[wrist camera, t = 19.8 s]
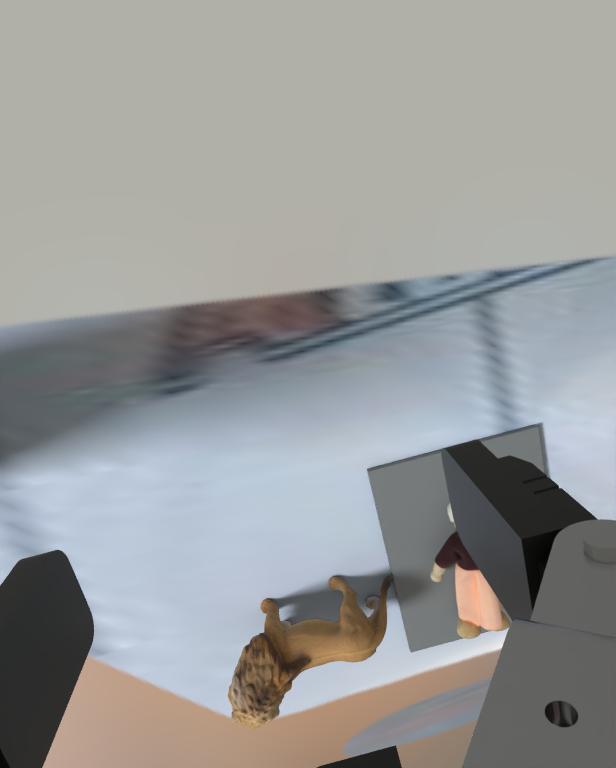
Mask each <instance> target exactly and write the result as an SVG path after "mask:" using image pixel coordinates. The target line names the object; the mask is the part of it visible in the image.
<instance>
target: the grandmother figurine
mask: <svg viewBox="0 0 616 768" xmlns="http://www.w3.org/2000/svg"><path fill="white" fill-rule="evenodd" d="M447 511H448V515H449V519H450V521H451V522H453V523H454V519H453V515H452V510H451V505H450V503H449V505H448V507H447ZM454 526H455V523H454ZM455 528H456V526H455ZM455 563H456V567H455V587H456V601H457V607H458V615H459V618H458V624H457V633H458V634H459V636H461V637H462V638H466V639H471V638H476V637H477V636H479V635H480V633H481V627H483V628H484V629H486V630H493V631H502V630H505V629H507V628H508V627H509V626H510V619H509V618H508V616H507V615H506V614H505V613H504V612H503V611H502V609H503V606H502V604H501V603H500V601H499V600H498V598H497V596H496V595H495V593H494V592H493V590H492V589H491V587H490V586H489V584H488V582H487V581H486V579H485V578H484V576H483V575H482V573H481V572H480V570H479V569H478V567H477V565H476V564H475V562H474V561H473V559H472V558H471V556H470V555H469V553H468V551H467V550H466V548H465V547H464V545H463V543H462V541H461V539H460V537H459V535H458V532H455V533H453V534H452V535H451V536H450V537H449V538H448V539H447V541H446V542H445V544H444V545H443V547H442V548H441V550H440V551H439V553H438V554H437V556H436V557H435V562H434V565H433V570H432V571H431V574H430V577H431V579H432V580H433V581H434V582H440V581H441V580H442V578H443V574H444V573H445V571H446V568H447V567H448V566H450V565H453V564H455ZM480 626H481V627H480Z"/></svg>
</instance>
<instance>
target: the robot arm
mask: <svg viewBox="0 0 616 768" xmlns="http://www.w3.org/2000/svg"><path fill="white" fill-rule="evenodd" d="M441 457H442V463H443V469H444V474H445V479H446V484H447V489H448V494H449V500H450V505H451V510H452V515H453V519H454V523H455V526H456V529H457V532H458V535H459V537H460V539H461V541H462V543H463V545H464V547H465V548H466V550H467V551H468V553H469V555H470V556H471V558H472V559H473V561H474V562H475V564H476V565H477V567H478V569H479V570H480V572H481V573H482V575H483V576H484V578H485V579H486V581H487V582H488V584H489V586H490V587H491V589H492V590H493V592H494V593H495V595H496V596H497V598H498V600H499V601H500V603H501V604H502V606H503V607H504V609H505V610H506V612H507V613H508V615H509V617H510V618H511V620H512V623H511V625H510V627H509V630H508V632H507V635H506V638H505V641H504V644H503V647H502V650H501V653H500V656H499V659H498V662H497V665H496V668H495V671H494V674H493V677H492V680H491V683H490V686H489V689H488V692H487V695H486V698H485V701H484V704H483V706H482V709H481V712H480V715H479V718H478V721H477V724H476V727H475V730H474V733H473V736H472V739H471V742H470V745H469V748H468V751H467V754H466V757H465V760H464V763H463V766H462V768H616V521H615V520H602V519H601V520H598V519H597V518H595V517H594V516H593V515H592V514H591V513H590V512H589V511H587V510H586V509H585V508H584V507H583V506H582V505H580V504H579V503H578V502H577V501H576V500H575V499H573V498H572V497H571V496H570V495H569V494H568V493H566V492H565V491H564V490H563V489H562V488H560V489H559V486H558V485H557V484H556V483H555V482H554V481H552V480H551V479H550V478H547V476H546V475H545V474H544V473H543V472H542V471H541V470H540V469H538V468H537V467H536V466H535V465H534V464H533V463H531V462H528V461H525V460H522V459H519V458H516V457H514V456H511V455H509V456H505V457H501V458H497V457H496V456H495V455H494V454H493V453H492V452H491V451H490V450H489V449H487V448H486V447H485V446H484V445H483V444H482V443H481V442H480V441H479V440H473V441H469V442H465V443H462V444H458V445H454V446H450V447H447V448H443V449H442V451H441ZM93 636H94V624H93V618H92V614H91V611H90V608H89V606H88V604H87V601H86V599H85V597H84V594H83V592H82V590H81V587H80V585H79V583H78V580H77V578H76V576H75V573H74V571H73V569H72V566H71V564H70V562H69V560H68V558H67V556H66V555H65V554H64V552H62V551H60V550H55V551H51V552H47V553H44V554H40V555H36V556H32V557H28V558H25V559H21V560H20V561H18V562H17V564H16V565H15V566H14V568H13V569H12V571H11V572H10V573H9V575H8V576H7V577H6V579H5V580H4V582H3V583H2V584H1V586H0V768H42V767H43V764H44V762H45V760H46V757H47V754H48V752H49V750H50V747H51V744H52V742H53V740H54V737H55V734H56V732H57V730H58V727H59V725H60V722H61V720H62V717H63V715H64V712H65V710H66V707H67V705H68V702H69V700H70V697H71V695H72V692H73V690H74V687H75V685H76V682H77V680H78V677H79V675H80V673H81V670H82V668H83V665H84V663H85V660H86V658H87V655H88V653H89V650H90V648H91V645H92V642H93ZM317 768H402V767H401V764H400V760H399V756H398V752H397V748H396V746H392V747H388V748H385V749H381V750H377V751H374V752H370V753H366V754H363V755H359V756H355V757H352V758H348V759H345V760H341V761H337V762H334V763H330V764H326V765H323V766H319V767H317Z"/></svg>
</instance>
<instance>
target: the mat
mask: <svg viewBox="0 0 616 768" xmlns="http://www.w3.org/2000/svg"><path fill="white" fill-rule="evenodd" d="M479 441H480V442H481V443H482V444H483V445H484V446H485V447H486V448H487V449H489V450H490V451H491V452H492V453H493V454H494V455H495V456H496V457H497V458H501V457H505V456H509V455H511V456H514V457H516V458H519V459H522V460H525V461H528V462H531V463H533V464H534V465H535V466H536V467H537V468H538V469H540V470H541V471H542V472H543V473H544V474H545V472H544V464H543V457H542V449H541V442H540V435H539V427H538V426H537V425H532V426H528V427H524V428H521V429H517V430H513V431H509V432H506V433H502V434H498V435H494V436H490V437H487V438H483V439H479ZM441 451H442V449H441V450H438V451H434V452H430V453H426V454H423V455H419V456H415V457H411V458H408V459H404V460H400V461H396V462H392V463H389V464H385V465H381V466H377V467H374V468H370V469H367V471H368V476H369V480H370V484H371V488H372V492H373V497H374V501H375V505H376V509H377V514H378V518H379V522H380V526H381V530H382V535H383V539H384V543H385V547H386V552H387V556H388V560H389V564H390V568H391V573H392V576H393V577H394V578H393V581H394V585H395V590H396V594H397V598H398V602H399V606H400V611H401V615H402V619H403V623H404V628H405V632H406V636H407V640H408V644H409V649H410V651H411V652H414V651H418V650H422V649H425V648H429V647H433V646H437V645H440V644H444V643H448V642H451V641H455V640H459V639H462V637H461V636H459V634H458V633H457V624H458V618H459V615H458V607H457V601H456V587H455V567H456V563H455V564H453V565H450V566H448V567H447V568H446V571H445V573H444V574H443V578H442V580H441V581H440V582H434V581H433V580H432V579H431V577H430V574H431V571H432V570H433V565H434V562H435V557H436V556H437V554H438V553H439V551H440V550H441V548H442V547H443V545H444V544H445V542H446V541H447V539H448V538H449V537H450V536H451V535H452V534H453V533H455V532H457V529H456V528H455V526H454V523H453V522H451V521H450V519H449V515H448V511H447V507H448V505H449V503H450V500H449V494H448V489H447V484H446V479H445V474H444V469H443V463H442V457H441ZM502 611H503V612H504V613H505V614H506V615H507V616H508V618H509V619H510V625H511V623H512V620H511V618H510V617H509V615H508V613H507V612H506V610H505V609H504V607H503V609H502ZM480 627H481V626H480ZM488 631H492V630H486V629H484V628H483V627H481V633H485V632H488ZM481 633H480V634H481Z"/></svg>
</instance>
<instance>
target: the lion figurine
mask: <svg viewBox="0 0 616 768" xmlns="http://www.w3.org/2000/svg"><path fill="white" fill-rule="evenodd" d="M393 578H394V577H393V576H392V575H391V576H389V577H386V578H385V579H384V581H383V584H382V588H381V594H380V598H379V597H376V596H372V597H369V598H368V599H367V602H366V606H367V607H368V608H370V609H374V611H373V613H372V614H371V616H370V617H368V618H367V617H366V615H365V614H364V612H363V611H362V610H361V609H360V607H359V606H358V604H357V603H356V592H355V591H354V590H353V589H352V588H351V587H349V586H348V585H347V584H346V582H345V581H344V580H343V579H341V578H339V577H332V578H330V580H329V586H330V589H331V590H333V591H336V590H341V591H342V592H343V595H344V599H343V602H342V605H341V607H340V620H339V621H338V622H331V621H327V620H322V619H310V620H305V621H301V622H299V623H296V624H294V625H291V623H290V622H289V621H283V622H281V621H280V618H279V609H278V607H277V606H276V604H275V602H273V601H271V600H269V599H266V600H264V601H263V602H262V603H261V610H262V611H263V613H267V616H266V620H265V627H264V628H265V632H264V633H260V634H259V635H258V636H257V635H256V636H255V637H253V638H252V639H251V641H250V644H249V645H246V646H245V647H244V649H243V651H242V655H241V657H240V659H239V662H238V665H237V667H236V668H235V671H234V676H233V679H232V684H231V686H230V687H229V693H228V698H229V701H230V703H231V704H232V707H233V712H232V721H233V722H240V724H241V725H247V726H249V727H253V728H257V727H259V726H260V725H261V724H264V723H265V722H266V721H269V722H270V721H272V720H273V719H274V718H276V717H277V716H278V715H279V712H280V711H279V705H280V704H281V702H282V699H283V698H284V694H285V693H286V692H287V691H289V690H290V689H291V687H292V681H293V680H294V679H295V678H296V677H297V676H298V675H299V674H300V673H301V672H302V671H304V670H307V669H309V668H312V667H315V666H320V665H323V664H326V663H329V662H334V661H346V662H360V661H363V660H366V659H367V658H369V657H371V656H372V655H373V654H374V653H375V652H376V648H377V647H378V646H379V645H380V643H381V642H382V640H383V638H384V635H385V631H386V626H387V607H386V596H387V590H388V588H389V587H390V584H391V582H392V580H393Z"/></svg>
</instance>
